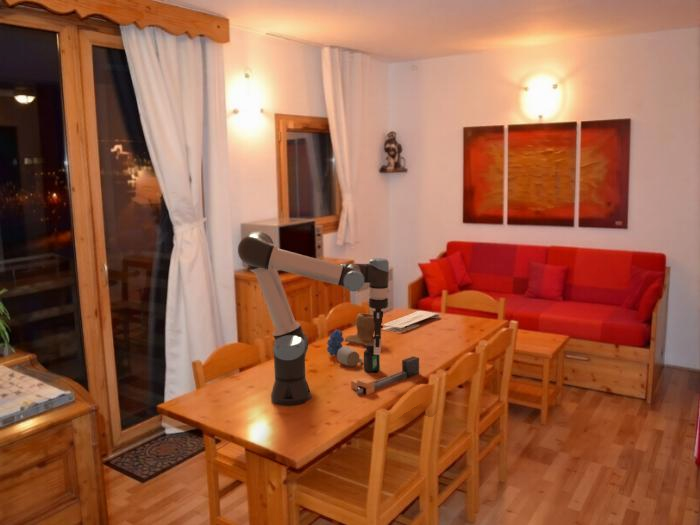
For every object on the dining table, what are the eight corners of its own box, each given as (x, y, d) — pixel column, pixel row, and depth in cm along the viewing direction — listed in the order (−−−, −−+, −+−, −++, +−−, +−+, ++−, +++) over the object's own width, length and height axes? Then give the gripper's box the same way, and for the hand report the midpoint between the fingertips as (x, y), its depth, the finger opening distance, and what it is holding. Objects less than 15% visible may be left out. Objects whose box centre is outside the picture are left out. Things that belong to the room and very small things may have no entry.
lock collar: (367, 394, 231) (366, 383, 230) (350, 388, 238) (350, 377, 237) (374, 391, 234) (374, 380, 233) (357, 385, 240) (357, 375, 240)
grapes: (335, 350, 289) (335, 325, 287) (347, 352, 285) (346, 327, 283) (320, 356, 279) (320, 331, 277) (332, 359, 275) (331, 333, 273)
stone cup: (382, 342, 300) (381, 312, 298) (370, 348, 290) (370, 318, 288) (356, 338, 308) (355, 309, 305) (343, 344, 298) (343, 314, 295)
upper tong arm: (360, 396, 230) (359, 378, 229) (354, 394, 233) (354, 376, 232) (419, 373, 253) (419, 357, 252) (413, 372, 256) (413, 356, 254)
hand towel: (380, 323, 321) (421, 309, 351) (381, 330, 322) (421, 315, 352) (400, 327, 313) (439, 312, 344) (400, 334, 314) (439, 318, 344)
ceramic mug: (347, 369, 262) (347, 352, 261) (336, 364, 268) (336, 347, 267) (366, 364, 268) (366, 347, 267) (354, 359, 275) (354, 343, 273)
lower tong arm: (368, 393, 233) (367, 376, 232) (365, 392, 234) (365, 375, 233) (419, 373, 253) (419, 357, 252) (416, 373, 254) (416, 357, 253)
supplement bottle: (378, 374, 254) (378, 347, 252) (362, 373, 256) (362, 346, 254) (380, 368, 261) (380, 342, 259) (365, 368, 262) (364, 341, 260)
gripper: (388, 305, 225) (386, 359, 228) (388, 291, 249) (386, 340, 253) (368, 304, 225) (367, 358, 229) (370, 290, 250) (369, 339, 253)
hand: (377, 349), depth 241 cm, fingers open, 13 cm apart
